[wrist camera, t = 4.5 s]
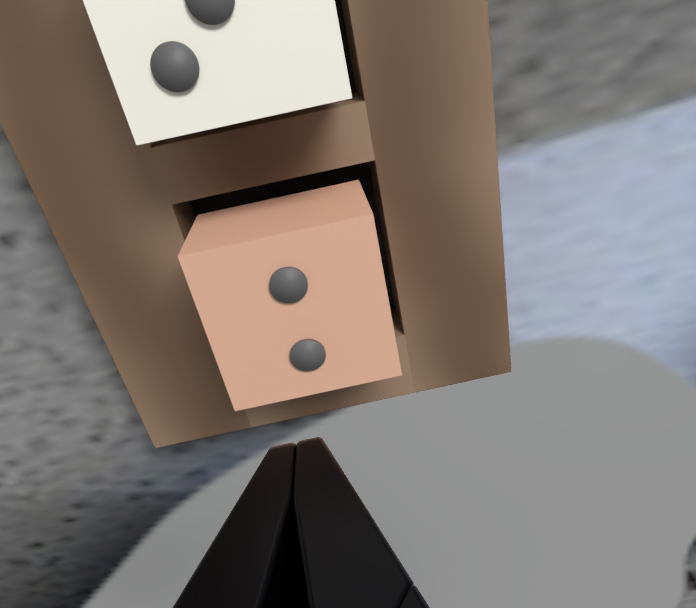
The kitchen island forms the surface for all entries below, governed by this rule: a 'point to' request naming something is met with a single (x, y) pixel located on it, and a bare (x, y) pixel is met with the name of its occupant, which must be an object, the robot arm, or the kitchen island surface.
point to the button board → (262, 168)
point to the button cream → (218, 60)
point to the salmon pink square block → (292, 295)
